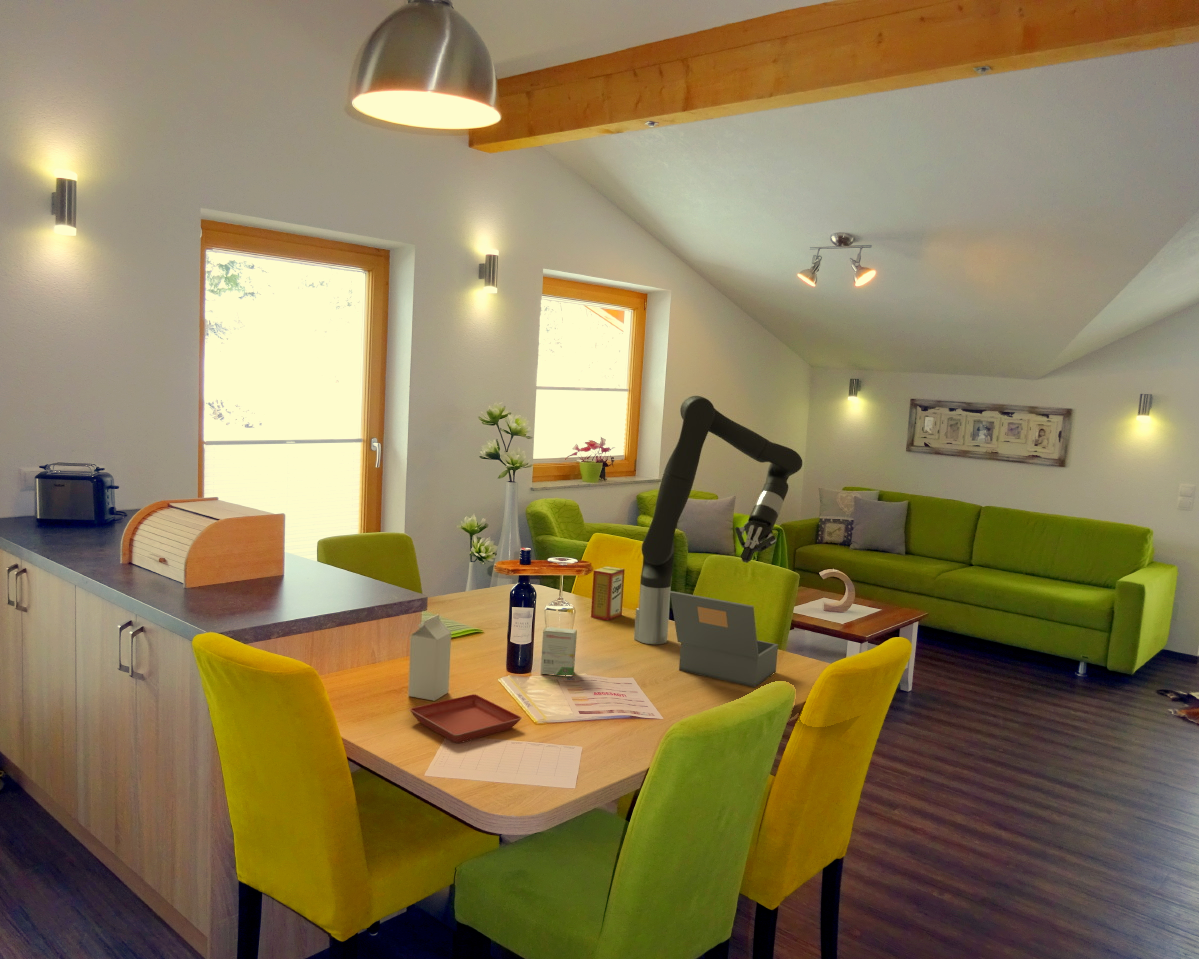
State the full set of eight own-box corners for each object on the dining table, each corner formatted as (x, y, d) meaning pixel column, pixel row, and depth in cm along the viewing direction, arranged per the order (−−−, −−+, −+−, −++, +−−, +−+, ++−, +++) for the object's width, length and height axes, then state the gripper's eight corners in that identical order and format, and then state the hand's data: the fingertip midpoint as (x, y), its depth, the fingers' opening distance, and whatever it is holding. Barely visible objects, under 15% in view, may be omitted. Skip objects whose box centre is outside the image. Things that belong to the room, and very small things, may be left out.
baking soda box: (608, 620, 302) (611, 572, 300) (590, 617, 305) (593, 569, 303) (621, 615, 310) (624, 567, 308) (604, 611, 313) (607, 565, 312)
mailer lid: (678, 640, 253) (677, 642, 252) (671, 591, 245) (670, 592, 245) (758, 657, 241) (757, 659, 241) (753, 605, 234) (752, 607, 233)
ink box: (539, 675, 243) (542, 630, 242) (543, 669, 248) (545, 625, 247) (572, 677, 242) (575, 633, 241) (575, 671, 247) (577, 628, 246)
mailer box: (678, 670, 254) (680, 641, 253) (702, 656, 268) (704, 629, 267) (755, 687, 243) (757, 657, 242) (775, 672, 257) (778, 644, 256)
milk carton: (448, 692, 225) (452, 616, 223) (434, 701, 219) (437, 622, 217) (423, 688, 228) (426, 612, 226) (407, 696, 221) (410, 618, 219)
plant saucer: (522, 731, 205) (523, 716, 205) (454, 750, 192) (455, 734, 192) (474, 707, 218) (474, 693, 217) (407, 723, 205) (408, 708, 205)
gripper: (742, 499, 271) (720, 549, 265) (785, 508, 265) (763, 560, 258) (748, 512, 277) (726, 561, 270) (790, 521, 270) (768, 572, 264)
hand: (744, 561), depth 264 cm, fingers closed
